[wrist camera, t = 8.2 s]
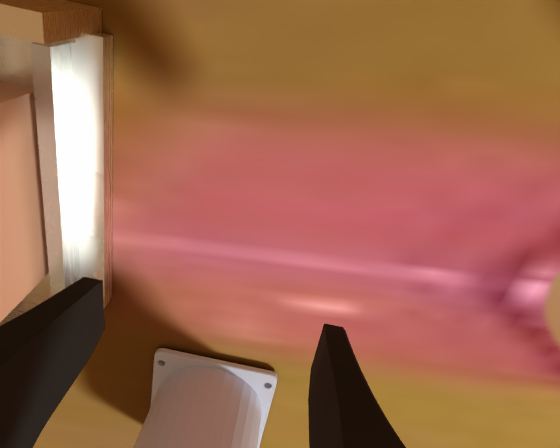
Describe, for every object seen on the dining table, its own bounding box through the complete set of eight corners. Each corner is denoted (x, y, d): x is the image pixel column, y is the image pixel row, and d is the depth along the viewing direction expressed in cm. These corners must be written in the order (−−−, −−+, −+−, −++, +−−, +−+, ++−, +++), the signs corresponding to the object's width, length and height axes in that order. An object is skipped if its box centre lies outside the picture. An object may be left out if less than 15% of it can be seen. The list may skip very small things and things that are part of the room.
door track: (111, 310, 27) (75, 365, 23) (-16, 283, 27) (-75, 334, 23) (113, 10, 19) (56, 16, 15) (-71, -30, 19) (-177, -36, 15)
